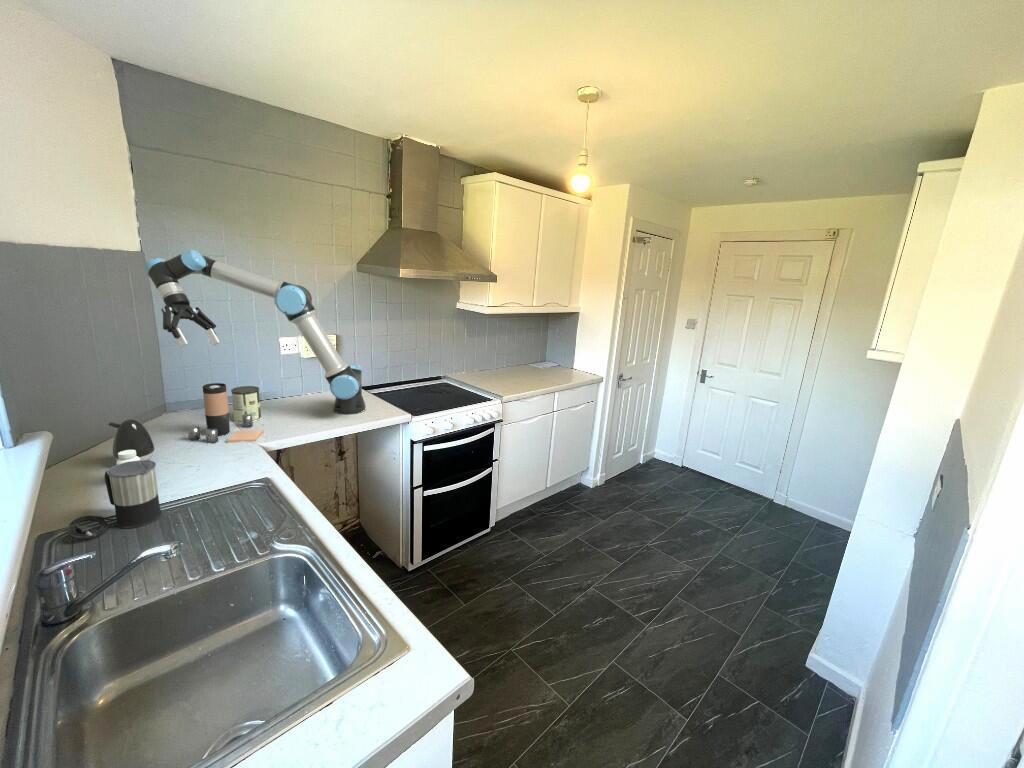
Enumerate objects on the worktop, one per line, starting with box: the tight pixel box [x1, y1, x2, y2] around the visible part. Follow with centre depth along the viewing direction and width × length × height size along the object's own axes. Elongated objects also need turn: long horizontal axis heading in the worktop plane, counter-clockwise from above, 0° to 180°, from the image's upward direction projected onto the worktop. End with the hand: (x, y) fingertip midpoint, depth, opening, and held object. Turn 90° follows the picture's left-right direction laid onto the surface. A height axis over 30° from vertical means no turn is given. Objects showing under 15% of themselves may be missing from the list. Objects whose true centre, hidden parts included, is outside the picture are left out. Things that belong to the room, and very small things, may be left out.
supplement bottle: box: [115, 450, 140, 466], centre depth 124 cm, size 5×5×10 cm
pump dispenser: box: [108, 418, 155, 461], centre depth 135 cm, size 10×10×15 cm
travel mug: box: [202, 382, 231, 437], centre depth 163 cm, size 8×8×20 cm
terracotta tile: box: [225, 429, 265, 443], centre depth 164 cm, size 10×10×1 cm
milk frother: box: [66, 459, 163, 541], centre depth 103 cm, size 14×16×15 cm
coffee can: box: [230, 385, 262, 424], centre depth 181 cm, size 10×10×14 cm
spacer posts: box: [187, 414, 254, 444], centre depth 164 cm, size 17×20×5 cm
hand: (201, 344), depth 162 cm, fingers open, 13 cm apart
